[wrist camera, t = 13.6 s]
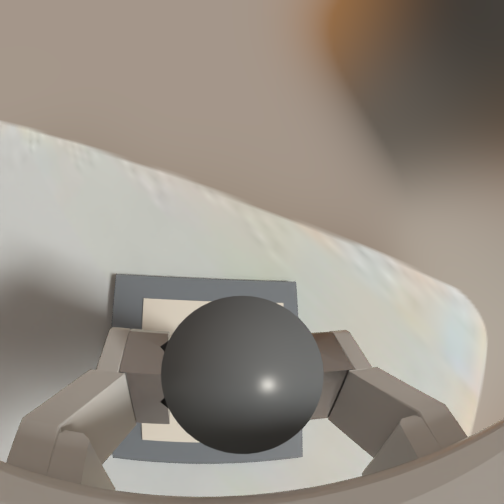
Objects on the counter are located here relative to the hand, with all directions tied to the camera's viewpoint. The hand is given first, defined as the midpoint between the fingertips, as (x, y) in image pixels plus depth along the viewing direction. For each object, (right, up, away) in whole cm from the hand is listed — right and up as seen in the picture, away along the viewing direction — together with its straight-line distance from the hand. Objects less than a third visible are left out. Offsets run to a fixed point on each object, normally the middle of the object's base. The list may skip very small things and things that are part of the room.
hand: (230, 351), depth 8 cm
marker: (-2, -4, +8) cm, 9 cm away
